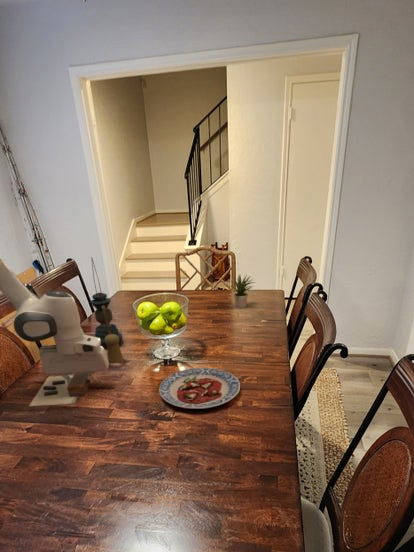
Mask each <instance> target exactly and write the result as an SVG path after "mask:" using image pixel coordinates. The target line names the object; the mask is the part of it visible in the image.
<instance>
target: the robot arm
mask: <svg viewBox="0 0 414 552" xmlns="http://www.w3.org/2000/svg"><path fill="white" fill-rule="evenodd" d="M0 292H1V293H2V294H3V295H4V297H6V298H7V299H8V300H9V301H10V303H11V304H13V307H14V308H15V311H16V315H15V316H14V321H13V329H14V331H15V333H16V335H17V336H18V337H19V338H21V339H22V340H24V341H26V342H30V343H37V342H41V341H44V340H47V339H50V338H52V337H53V341H54V344H51V345H50V344H49V345H42V346H41V347H40V348H39V349H38V354H39V357H40V358H41V364H42V365H41V366H42V369H43V372H44V373H45V374H46V375H62V377H63V378H64V379H66V380H67V383H68V385H69V383H70V381H71V379H72V378H70V377H69V376H68V375H69V374H75V373H78V372H88V373H89V374H91V375H90V377H87V383H91V384H93V382H94V373H95V372H105V371H107V370H108V368H109V366H110V363H109V361H108V353H107V350H106V349H104V348H103V347H102V346H100V345H101V340H100V338H97V337H94V336H92V335H88V334H85V333H84V330H83V329H82V326H81V316H80V312H79V308H78V306H77V302H76V300H75V298H74V296H73V295H72V294H70V292H67V291H64V290H48V291H46V292H44V294H43V295H42V296H41V297H40V296H38V295H36V294H35V293H33V292H31V290H30V289H29V288H28V287H27V286H26V285H25V284H24V283H23V282H22V281H21V280H20V278H19V277H18V276H17V275H16V274H15V272H13V271H12V269H11V268H10V267H9V266H8V265H7V264H6V263H5V261H4V259H3V258H2V257H1V256H0ZM92 376H93V378H92Z"/></svg>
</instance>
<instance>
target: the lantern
mask: <svg viewBox="0 0 414 552" xmlns="http://www.w3.org/2000/svg"><path fill="white" fill-rule="evenodd" d="M90 259H91V268H92V269H91V270H94V271H95V274H96V278H97V281H98V285H99V291H100V292H98V291H97V285H96V282H95V274H94V272H92V278H93V284H94V289H95V293H94V294H93V295H91V297H92V300H90V304H91V305H92V307H94V308H95V311H94V317H95V320H96V322H97V323H99V325H97V326H96V327H95V332H94V336H93V337H97V338H100V340H101V345H100V346H102V347H103V348H104V349H105V350H107V344H106V343H105V341H104V340H105V337H106V336H107V335H110V334H115V335H117V336H118V337H119V343H118V344H119V346H120V345H122V343H123V334H122V333H121V332H119V329H118V328H117V325H116V324H114V323H112V320H113V317H114V316H113V312H112V310H111V309H110V308H109V305H110V304H111V301H112V299H111V298H109V297H108V295H107V293H104V292H102V289H101V288H102V287H101V284H100V279H99V276H98V273H97V269H96V265H95V262H94V258H93V256H91V257H90Z"/></svg>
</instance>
